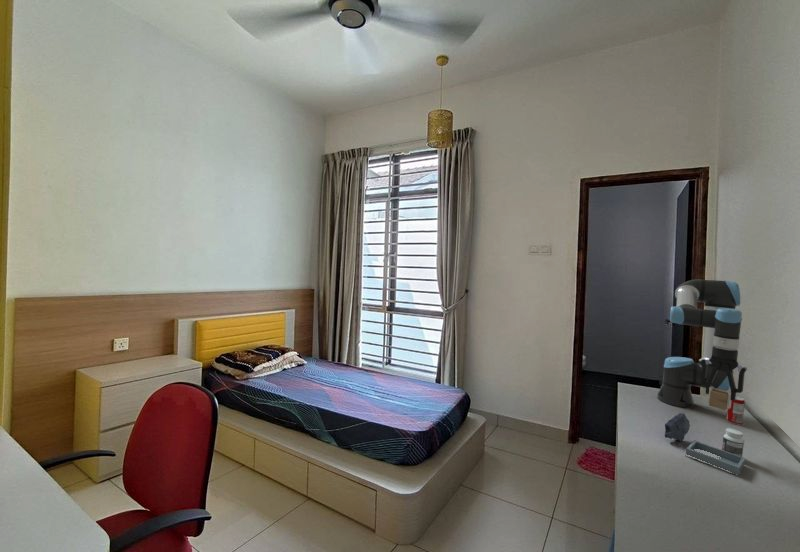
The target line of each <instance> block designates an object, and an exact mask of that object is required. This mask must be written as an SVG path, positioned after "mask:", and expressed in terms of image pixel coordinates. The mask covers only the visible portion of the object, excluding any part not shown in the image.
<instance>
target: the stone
mask: <svg viewBox="0 0 800 552" xmlns="http://www.w3.org/2000/svg"><path fill="white" fill-rule="evenodd" d="M688 419H689V418H687V416H686V414H685V413H684V412H683V413H682V412H679V413H678V414H677V415H675V416H673V417H671V418H670V419H669V420H668V421H667V422H666V423H665V424H664V426H665V427H664V428H665V431H664V438H665V439H666V438H668V439H671V440H672V439H673V440H676V441H677V442H680V443H681V442H683V440H685V436H686V435H687V434H688V432H689V430H690V427H691V425H690V420H688Z"/></svg>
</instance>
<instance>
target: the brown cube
mask: <svg viewBox="0 0 800 552" xmlns="http://www.w3.org/2000/svg"><path fill="white" fill-rule="evenodd" d="M728 392H729V390H728V391H724V390H720V389H716V388H714V389H713V390H711V391H710V400H709V403H708V406H710V407H712V408H716V409H720V410H723V411H726V410H727V409H728V408H727V400H728Z"/></svg>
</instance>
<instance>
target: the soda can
mask: <svg viewBox="0 0 800 552" xmlns="http://www.w3.org/2000/svg"><path fill="white" fill-rule="evenodd" d="M745 404H746V402H745V399H744V398H743V397H741V396H736V398H735V400H734V401H732V400H731V407H730V409H728V408H727V409H726V410H727V412H726V421H727V422H728V423H730V424H732V425H736V426H737V425H738V426H741V425H743V424H744V423H743V421H744V415H745V414H744V413H745Z"/></svg>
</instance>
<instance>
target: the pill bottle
mask: <svg viewBox="0 0 800 552" xmlns="http://www.w3.org/2000/svg"><path fill="white" fill-rule="evenodd" d="M743 436H744V434H743V432H742V431H740V430H738V429H735V428H730V427H727V428H725V434H723V436H722V445H721V447H722V448H721V450H724V451H727V452H729V453H732V454H735V455H738V456H741V457H743V455H744V453H743V452H744V443H745V440H744V439H743Z"/></svg>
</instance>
